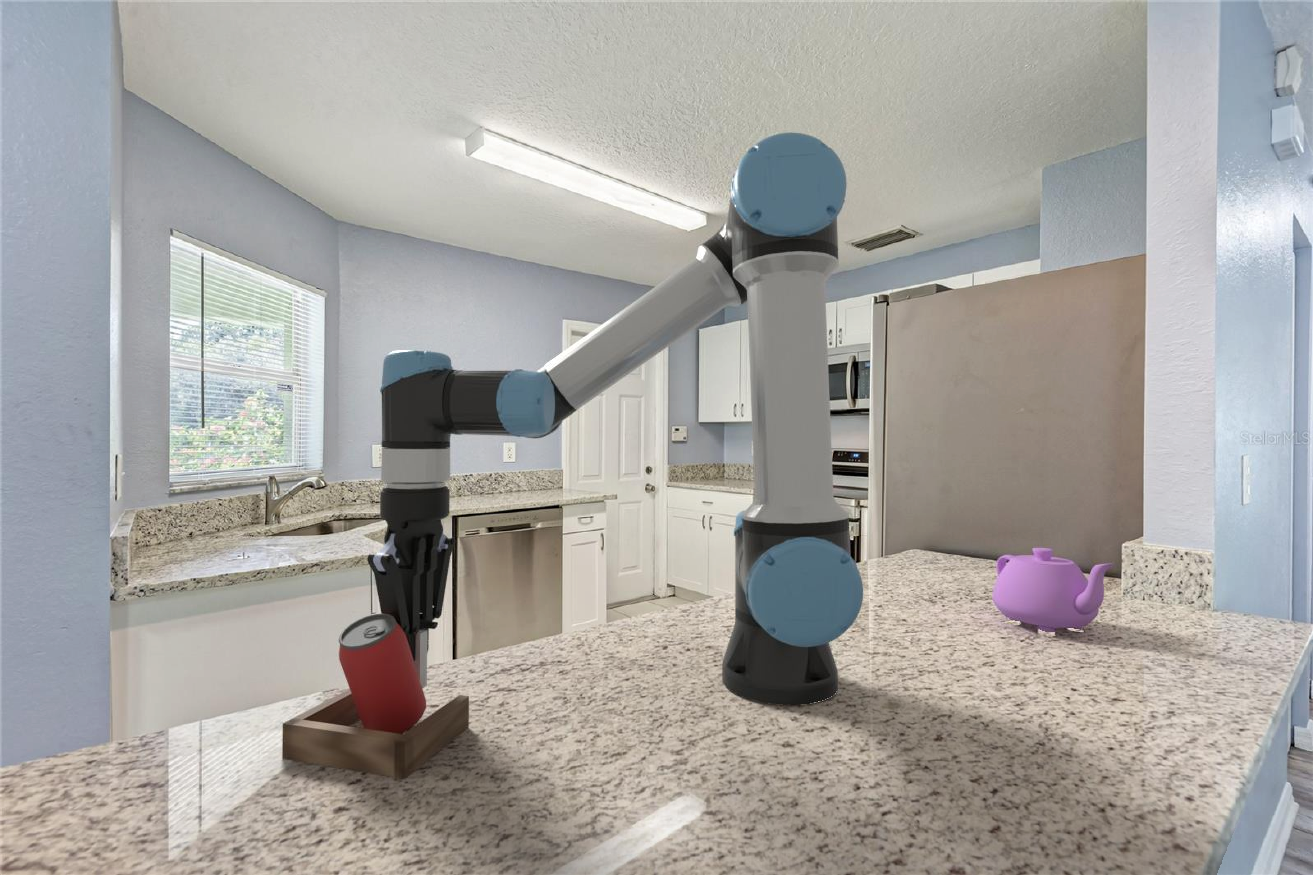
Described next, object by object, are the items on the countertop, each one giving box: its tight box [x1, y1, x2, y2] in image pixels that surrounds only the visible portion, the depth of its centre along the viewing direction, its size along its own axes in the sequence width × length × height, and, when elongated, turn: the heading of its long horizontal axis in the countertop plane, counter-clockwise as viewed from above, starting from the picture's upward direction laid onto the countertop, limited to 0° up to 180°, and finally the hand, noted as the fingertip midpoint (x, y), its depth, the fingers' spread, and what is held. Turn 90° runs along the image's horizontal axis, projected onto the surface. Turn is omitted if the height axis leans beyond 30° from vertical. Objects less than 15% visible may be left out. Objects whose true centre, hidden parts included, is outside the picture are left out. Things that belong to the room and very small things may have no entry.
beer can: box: [338, 612, 427, 734], centre depth 65 cm, size 7×7×12 cm
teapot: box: [992, 547, 1116, 633], centre depth 105 cm, size 22×16×14 cm
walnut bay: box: [281, 688, 470, 780], centre depth 64 cm, size 14×11×4 cm
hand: (413, 686), depth 70 cm, fingers closed
